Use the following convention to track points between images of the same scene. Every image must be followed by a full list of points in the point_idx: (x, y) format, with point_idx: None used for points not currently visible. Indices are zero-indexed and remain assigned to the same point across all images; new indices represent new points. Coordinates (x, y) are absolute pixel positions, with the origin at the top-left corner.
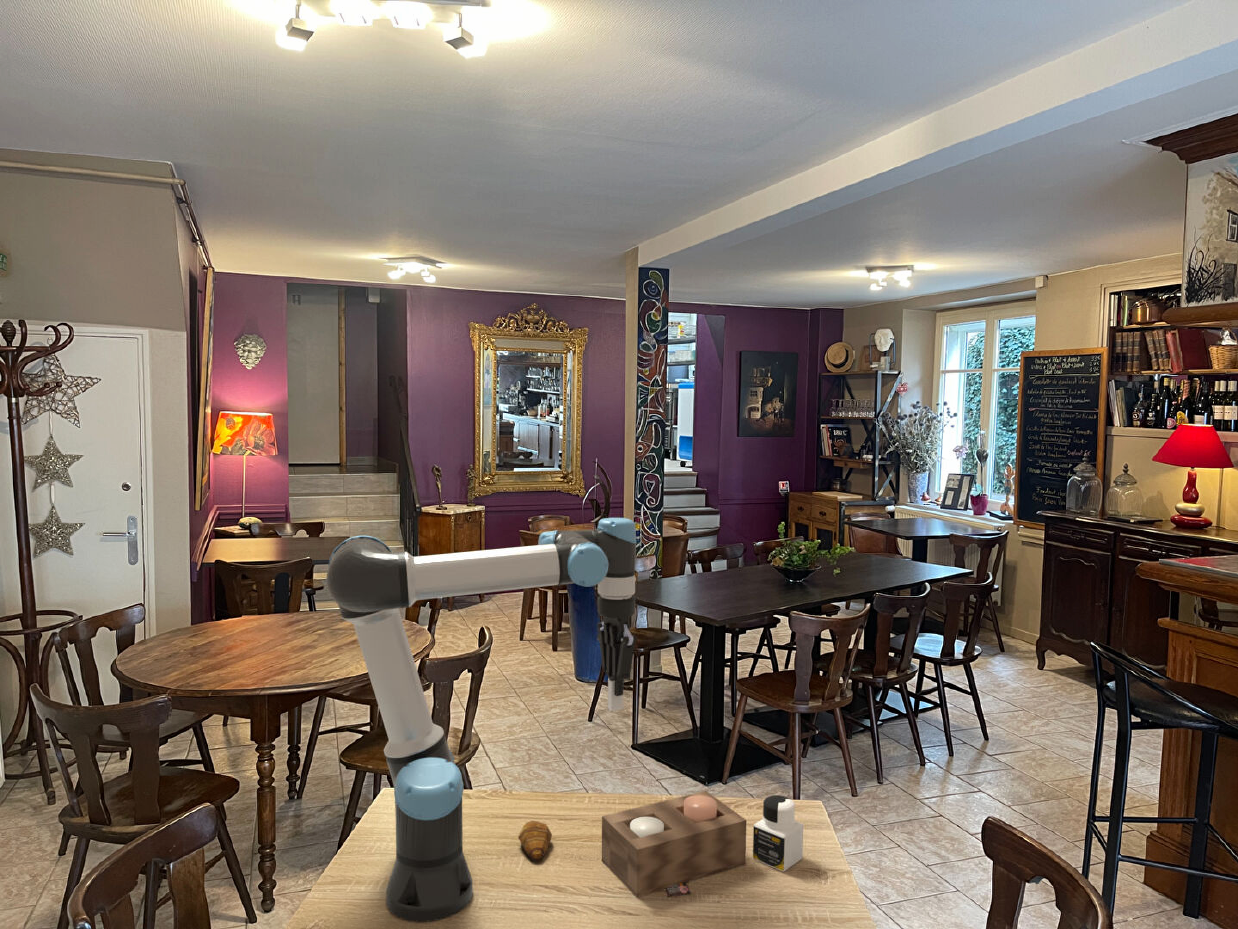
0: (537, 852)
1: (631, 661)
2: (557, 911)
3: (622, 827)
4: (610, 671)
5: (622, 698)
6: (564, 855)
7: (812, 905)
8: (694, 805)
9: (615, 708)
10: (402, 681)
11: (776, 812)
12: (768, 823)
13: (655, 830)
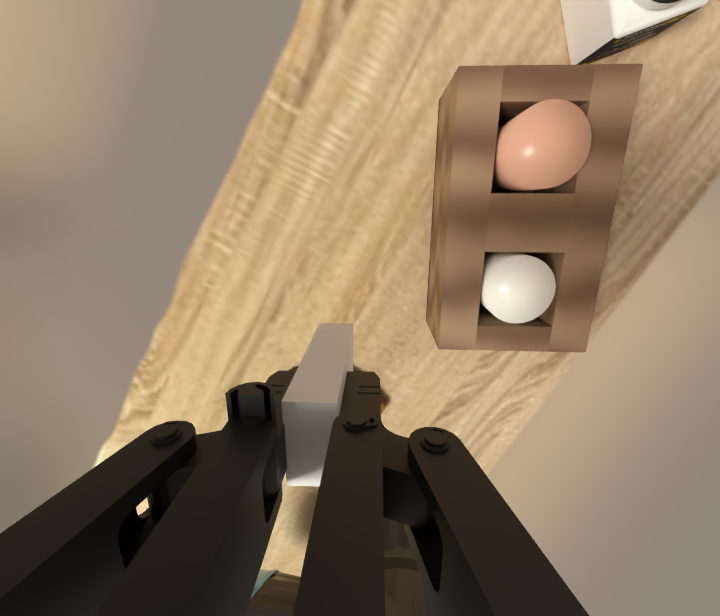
0: (382, 409)
1: (576, 609)
2: (505, 424)
3: (499, 336)
4: (273, 509)
5: (349, 348)
6: (382, 360)
7: None
8: (550, 167)
9: (352, 365)
10: None
11: None
12: (668, 6)
13: (549, 287)
